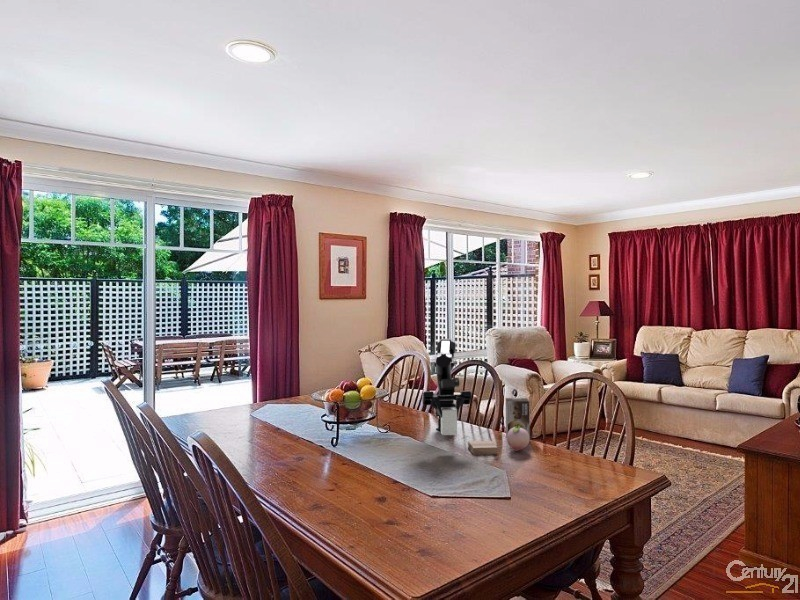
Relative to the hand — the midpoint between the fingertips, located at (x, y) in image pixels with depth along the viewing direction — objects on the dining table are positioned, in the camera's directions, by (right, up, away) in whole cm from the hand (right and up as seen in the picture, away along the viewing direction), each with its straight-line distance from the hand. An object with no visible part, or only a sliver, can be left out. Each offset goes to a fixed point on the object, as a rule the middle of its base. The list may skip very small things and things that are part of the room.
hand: (449, 416), depth 191 cm
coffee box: (+30, -14, +20) cm, 39 cm away
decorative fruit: (+26, -13, +1) cm, 29 cm away
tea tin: (0, -7, +1) cm, 7 cm away
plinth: (+13, -13, +2) cm, 19 cm away
